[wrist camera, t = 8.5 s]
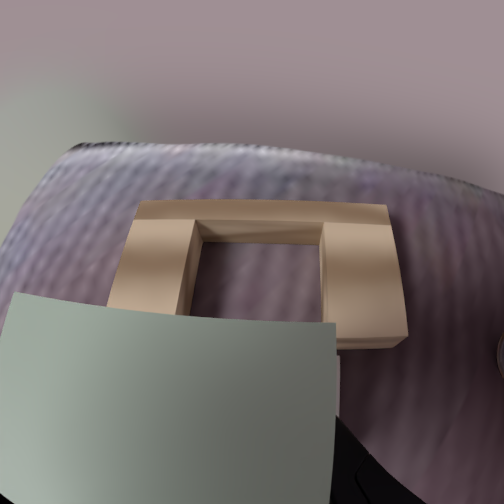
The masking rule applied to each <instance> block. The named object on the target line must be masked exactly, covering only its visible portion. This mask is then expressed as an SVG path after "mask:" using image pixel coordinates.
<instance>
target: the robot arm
mask: <svg viewBox="0 0 504 504" xmlns="http://www.w3.org/2000/svg"><path fill="white" fill-rule="evenodd" d="M0 504H14V503H13V502H11V501H10V500H9V499H7V498H6V497H5V496H3V495H2V494H1V493H0ZM329 504H426V503H425V502H424V501H422V500H421V499H420V498H418V497H417V496H416V495H415V494H413V493H412V492H411V491H409V490H408V489H407V488H406V487H404V486H403V485H402V484H401V483H400V482H398V481H397V480H396V479H395V478H394V477H393V476H392V475H390V474H389V473H388V472H387V471H386V470H385V469H384V468H383V467H382V466H381V465H380V464H379V463H378V462H377V461H376V459H375V458H374V457H373V456H372V455H371V454H369V452H368V451H367V450H366V448H365V447H364V446H363V445H362V444H361V443H360V442H359V441H358V439H357V438H356V437H355V436H354V435H353V434H352V433H351V431H350V430H349V429H348V428H347V427H346V426H345V425H344V423H343V422H342V421H341V420H340V419H339V418H338V416H337V415H336V419H335V439H334V455H333V468H332V480H331V490H330V499H329Z"/></svg>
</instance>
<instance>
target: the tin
mask: <svg viewBox="0 0 504 504" xmlns="http://www.w3.org/2000/svg"><path fill="white" fill-rule="evenodd" d="M497 362H498V367H499V370H500V373H501V375H502V377H503V379H504V333H503V334H502V336H501V338H500V341H499V343H498V347H497Z"/></svg>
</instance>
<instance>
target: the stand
mask: <svg viewBox="0 0 504 504" xmlns="http://www.w3.org/2000/svg"><path fill="white" fill-rule="evenodd" d="M203 242H233V243H270V244H303V245H319V251H320V277H321V322H322V323H336V348H337V350H347V349H381V348H393V347H394V346H396V345H397V344H398V343H400V342H401V341H402V340H404V339H405V338H406V337H408V327H407V318H406V309H405V302H404V294H403V287H402V281H401V275H400V269H399V263H398V257H397V252H396V247H395V242H394V237H393V232H392V228H391V223H390V219H389V215H388V210H387V206H386V205H377V204H361V203H343V202H322V201H294V200H242V199H203V200H151V201H140V204H139V207H138V209H137V212H136V215H135V218H134V220H133V223H132V226H131V229H130V232H129V234H128V237H127V240H126V243H125V246H124V249H123V252H122V256H121V259H120V262H119V265H118V268H117V272H116V275H115V278H114V282H113V285H112V289H111V292H110V296H109V299H108V303H107V307H110V308H118V309H126V310H134V311H143V312H152V313H162V314H172V315H183V316H190V310H191V304H192V298H193V292H194V287H195V281H196V276H197V270H198V265H199V260H200V254H201V249H202V244H203Z"/></svg>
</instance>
